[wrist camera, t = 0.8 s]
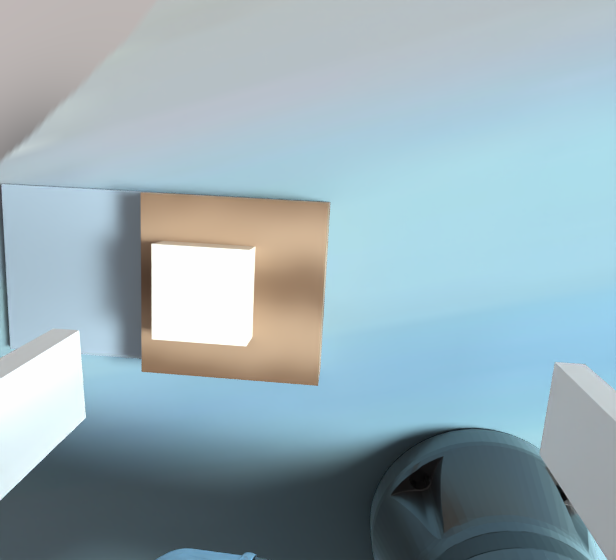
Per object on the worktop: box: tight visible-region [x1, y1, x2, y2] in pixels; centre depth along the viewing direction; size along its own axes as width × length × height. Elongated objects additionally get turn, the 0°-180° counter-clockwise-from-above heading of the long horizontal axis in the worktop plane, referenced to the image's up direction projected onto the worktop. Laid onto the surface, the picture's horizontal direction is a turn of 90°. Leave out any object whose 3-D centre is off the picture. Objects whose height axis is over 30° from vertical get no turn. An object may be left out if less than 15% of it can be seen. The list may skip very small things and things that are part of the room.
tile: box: [151, 241, 255, 346], centre depth 31 cm, size 6×6×2 cm
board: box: [141, 192, 330, 386], centre depth 33 cm, size 12×12×3 cm
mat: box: [1, 184, 157, 359], centre depth 35 cm, size 12×11×1 cm
